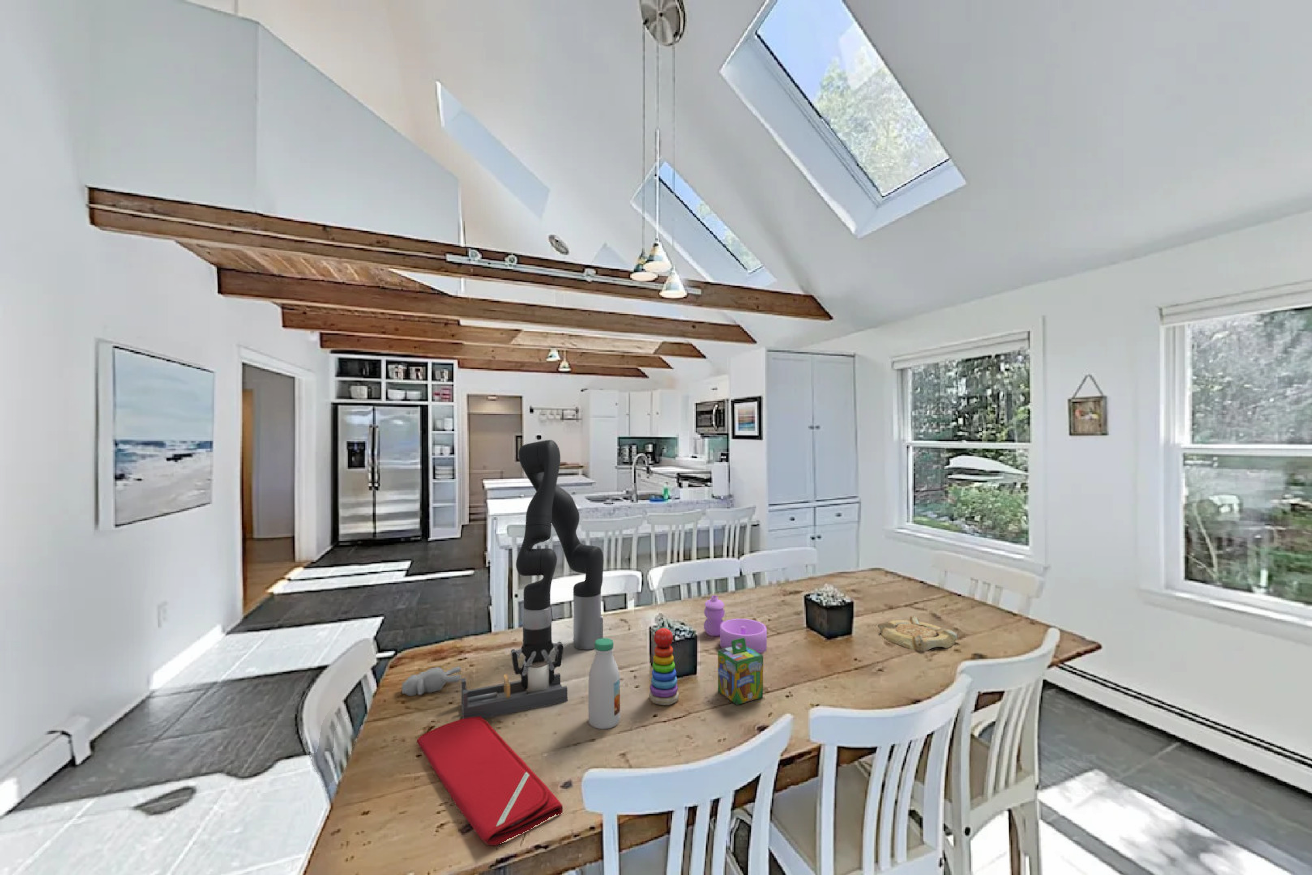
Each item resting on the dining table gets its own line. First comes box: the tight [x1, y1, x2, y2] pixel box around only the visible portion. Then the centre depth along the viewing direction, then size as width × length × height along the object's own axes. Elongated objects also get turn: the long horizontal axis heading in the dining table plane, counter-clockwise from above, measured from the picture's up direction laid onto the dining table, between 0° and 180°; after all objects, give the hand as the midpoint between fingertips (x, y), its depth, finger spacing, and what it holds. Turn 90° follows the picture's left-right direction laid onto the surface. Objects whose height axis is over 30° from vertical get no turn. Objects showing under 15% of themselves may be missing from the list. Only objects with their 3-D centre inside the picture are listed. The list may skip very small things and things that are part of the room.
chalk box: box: [717, 638, 764, 706], centre depth 143 cm, size 9×9×15 cm
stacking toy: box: [648, 627, 680, 706], centre depth 141 cm, size 8×8×19 cm
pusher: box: [468, 674, 510, 703], centre depth 136 cm, size 11×7×5 cm, turn 113°
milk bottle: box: [588, 637, 621, 730], centre depth 130 cm, size 8×8×20 cm
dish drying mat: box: [416, 716, 564, 846], centre depth 110 cm, size 16×41×4 cm, turn 39°
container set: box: [703, 595, 768, 655], centre depth 179 cm, size 25×15×13 cm, turn 38°
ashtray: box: [877, 615, 958, 652], centre depth 182 cm, size 24×24×5 cm
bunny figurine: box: [401, 666, 462, 697], centre depth 147 cm, size 10×5×15 cm
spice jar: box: [526, 660, 549, 694], centre depth 142 cm, size 6×6×8 cm
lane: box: [460, 672, 568, 720], centre depth 139 cm, size 26×10×7 cm, turn 113°
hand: (537, 684), depth 142 cm, fingers closed on spice jar, 6 cm apart
